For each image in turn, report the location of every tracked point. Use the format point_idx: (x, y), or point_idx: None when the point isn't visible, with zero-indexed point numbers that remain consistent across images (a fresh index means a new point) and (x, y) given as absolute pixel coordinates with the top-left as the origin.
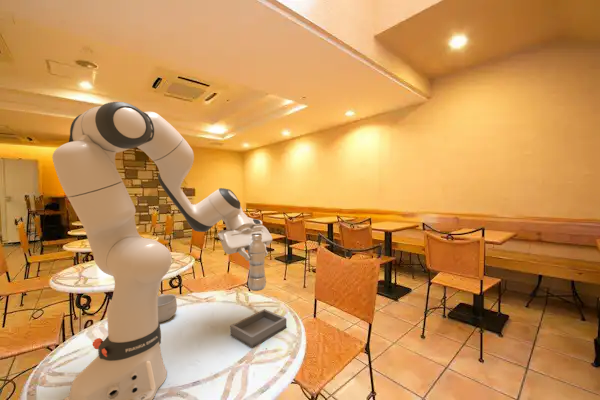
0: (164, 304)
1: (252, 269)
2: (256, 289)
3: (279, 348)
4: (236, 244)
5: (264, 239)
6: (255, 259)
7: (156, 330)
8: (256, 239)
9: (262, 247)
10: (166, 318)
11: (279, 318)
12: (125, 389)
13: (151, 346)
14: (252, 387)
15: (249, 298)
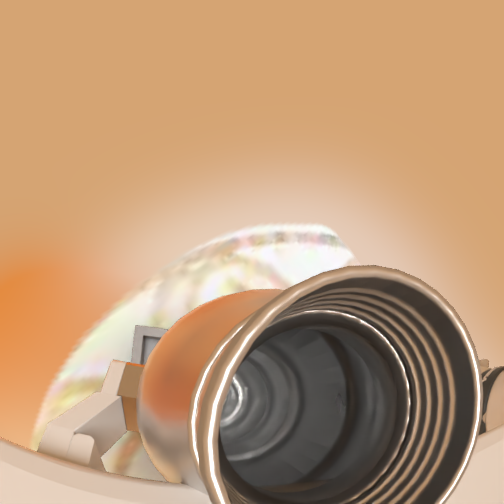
0: None
1: (282, 387)
2: (246, 367)
3: (229, 286)
4: (500, 451)
5: (7, 470)
6: (303, 353)
7: (492, 381)
8: (393, 324)
9: (269, 290)
10: None
11: (142, 349)
12: None
13: (482, 373)
14: (339, 256)
15: None
